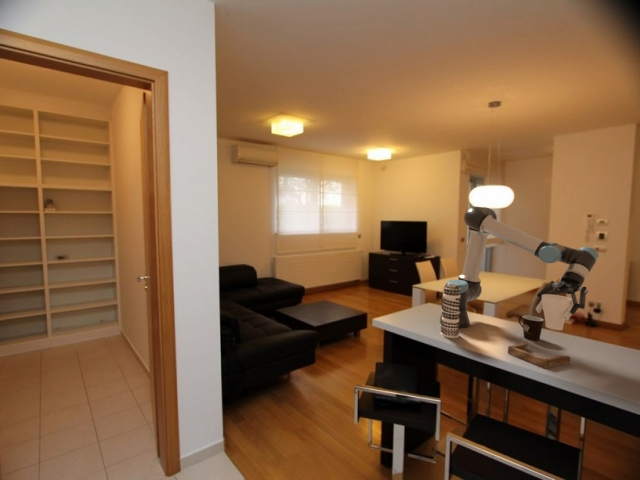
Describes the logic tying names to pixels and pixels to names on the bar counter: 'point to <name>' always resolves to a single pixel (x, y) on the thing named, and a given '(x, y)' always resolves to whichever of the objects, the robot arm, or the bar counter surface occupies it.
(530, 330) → the coffee mug
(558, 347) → the bar counter surface
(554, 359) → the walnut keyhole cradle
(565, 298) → the cup
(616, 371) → the bar counter surface
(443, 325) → the decorative candle
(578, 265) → the robot arm
